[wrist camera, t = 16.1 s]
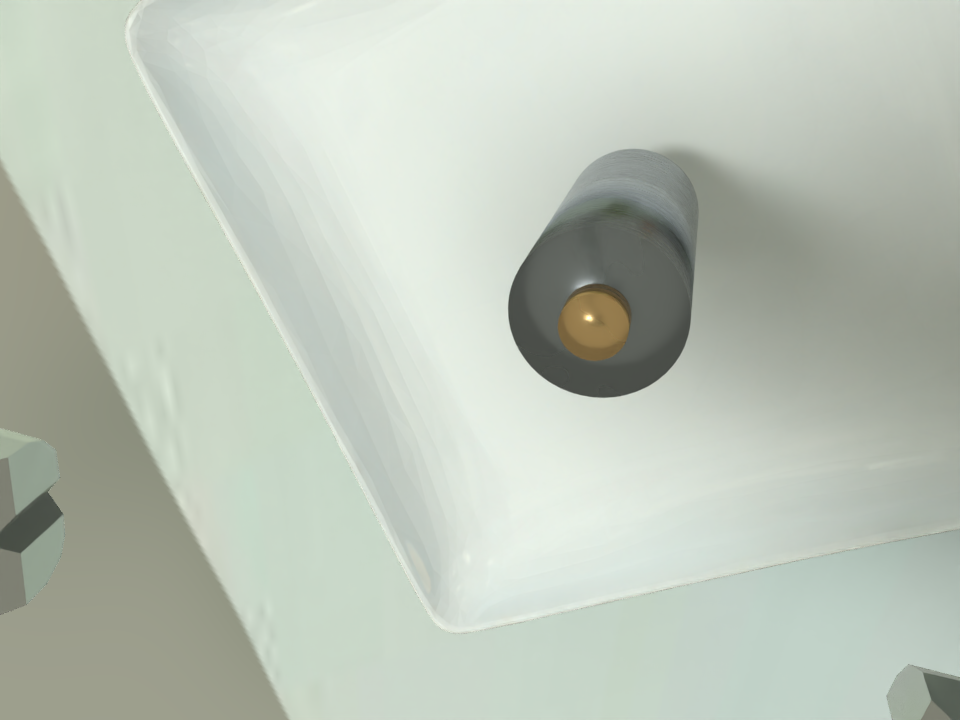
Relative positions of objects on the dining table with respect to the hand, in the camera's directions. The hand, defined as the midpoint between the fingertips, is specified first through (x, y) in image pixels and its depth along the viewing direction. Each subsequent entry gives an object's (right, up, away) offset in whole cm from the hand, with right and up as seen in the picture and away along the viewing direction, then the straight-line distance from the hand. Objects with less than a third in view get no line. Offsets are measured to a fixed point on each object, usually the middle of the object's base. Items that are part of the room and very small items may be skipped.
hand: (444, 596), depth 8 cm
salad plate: (+5, +7, +17) cm, 19 cm away
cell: (+4, +6, +13) cm, 15 cm away
